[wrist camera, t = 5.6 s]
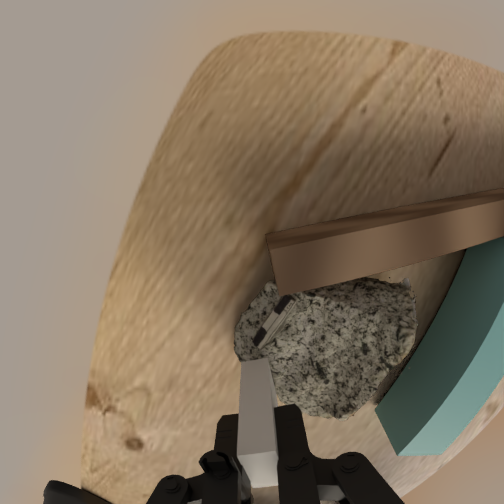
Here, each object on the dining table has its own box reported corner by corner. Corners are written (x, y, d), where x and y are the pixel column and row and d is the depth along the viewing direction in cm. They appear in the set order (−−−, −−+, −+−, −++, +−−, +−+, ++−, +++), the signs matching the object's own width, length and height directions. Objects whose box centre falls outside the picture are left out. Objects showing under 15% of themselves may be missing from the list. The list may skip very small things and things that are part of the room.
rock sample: (219, 241, 12) (387, 411, 7) (332, 211, 16) (453, 309, 12) (198, 366, 18) (282, 470, 13) (281, 323, 22) (358, 402, 18)
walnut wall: (272, 270, 16) (279, 296, 12) (265, 234, 15) (270, 249, 12) (555, 200, 15) (584, 205, 11) (553, 179, 14) (582, 182, 10)
